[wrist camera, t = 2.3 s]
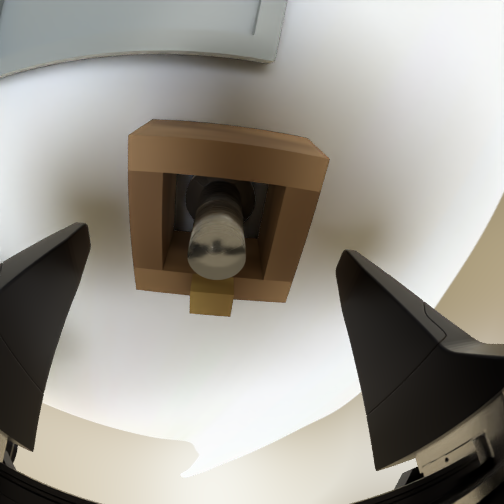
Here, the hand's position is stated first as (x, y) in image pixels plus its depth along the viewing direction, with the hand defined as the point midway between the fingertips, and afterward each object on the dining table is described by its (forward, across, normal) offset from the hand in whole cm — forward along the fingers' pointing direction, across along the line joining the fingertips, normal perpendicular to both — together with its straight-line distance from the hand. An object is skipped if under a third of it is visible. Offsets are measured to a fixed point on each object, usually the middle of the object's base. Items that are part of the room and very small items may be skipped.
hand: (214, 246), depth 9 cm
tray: (+4, +6, -13) cm, 15 cm away
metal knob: (+4, 0, 0) cm, 4 cm away
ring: (+4, 0, 0) cm, 4 cm away
